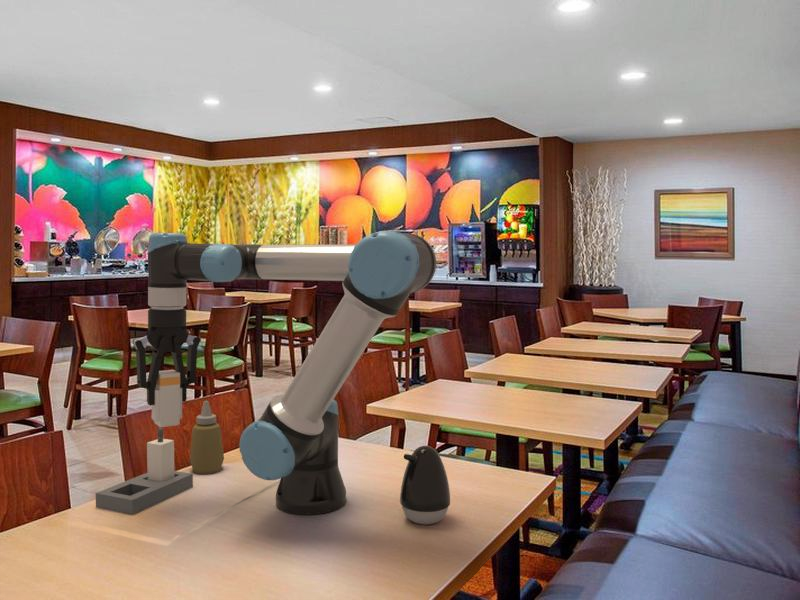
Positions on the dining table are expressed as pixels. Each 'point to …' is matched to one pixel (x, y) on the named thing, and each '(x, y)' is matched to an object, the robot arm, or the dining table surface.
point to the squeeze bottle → (206, 443)
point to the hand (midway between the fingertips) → (166, 418)
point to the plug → (168, 398)
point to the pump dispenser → (425, 487)
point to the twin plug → (160, 458)
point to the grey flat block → (142, 493)
